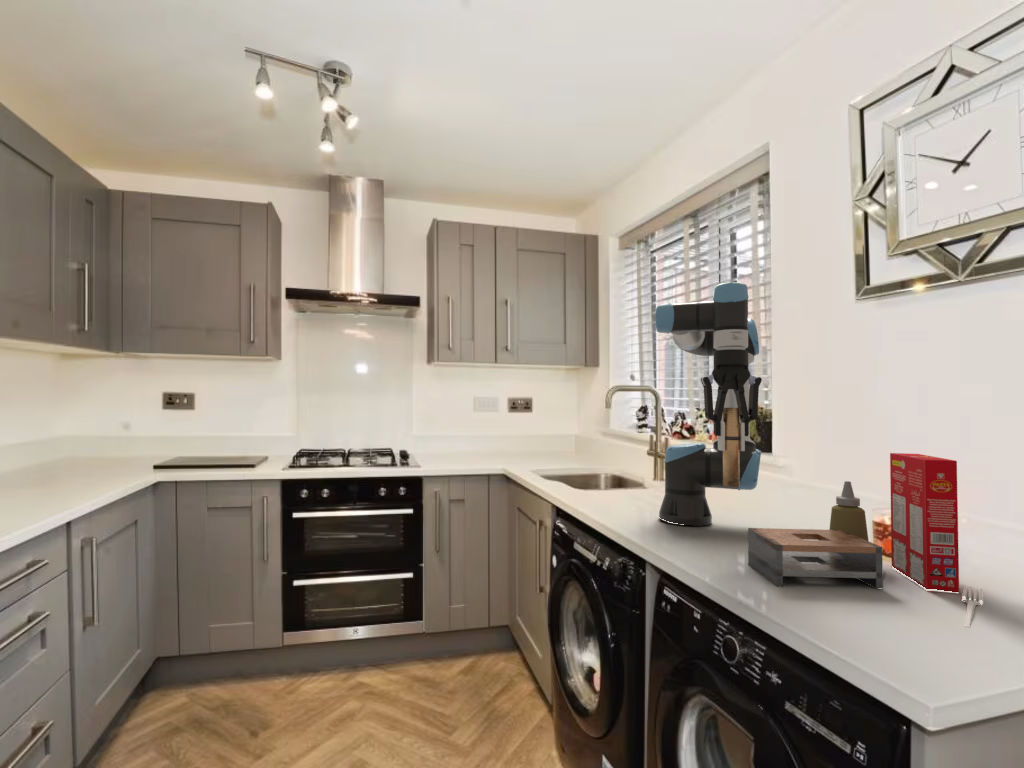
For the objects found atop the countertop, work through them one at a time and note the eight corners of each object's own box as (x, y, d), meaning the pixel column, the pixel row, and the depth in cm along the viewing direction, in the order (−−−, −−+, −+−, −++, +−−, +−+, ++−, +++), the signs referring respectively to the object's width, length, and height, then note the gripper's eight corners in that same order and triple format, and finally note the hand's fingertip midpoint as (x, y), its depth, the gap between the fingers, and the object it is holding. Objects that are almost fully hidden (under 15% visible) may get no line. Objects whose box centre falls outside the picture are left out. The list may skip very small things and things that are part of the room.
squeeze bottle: (832, 564, 119) (831, 482, 120) (824, 554, 127) (823, 478, 127) (874, 568, 116) (873, 485, 117) (864, 558, 124) (863, 480, 124)
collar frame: (748, 564, 118) (748, 528, 118) (841, 566, 117) (841, 530, 117) (776, 586, 104) (776, 544, 104) (882, 589, 103) (882, 547, 103)
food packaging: (959, 593, 101) (956, 460, 102) (927, 591, 102) (924, 459, 103) (919, 570, 115) (917, 453, 116) (891, 568, 117) (890, 453, 117)
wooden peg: (720, 484, 126) (719, 407, 127) (736, 484, 126) (736, 407, 126) (725, 486, 122) (725, 407, 123) (742, 486, 122) (742, 407, 123)
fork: (953, 629, 87) (953, 617, 87) (962, 594, 101) (961, 584, 101) (980, 635, 85) (980, 623, 85) (984, 599, 99) (984, 589, 99)
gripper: (698, 347, 122) (698, 451, 121) (774, 348, 121) (775, 452, 120) (689, 351, 129) (689, 448, 128) (761, 351, 128) (761, 449, 127)
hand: (731, 450), depth 124 cm, fingers closed on wooden peg, 4 cm apart
